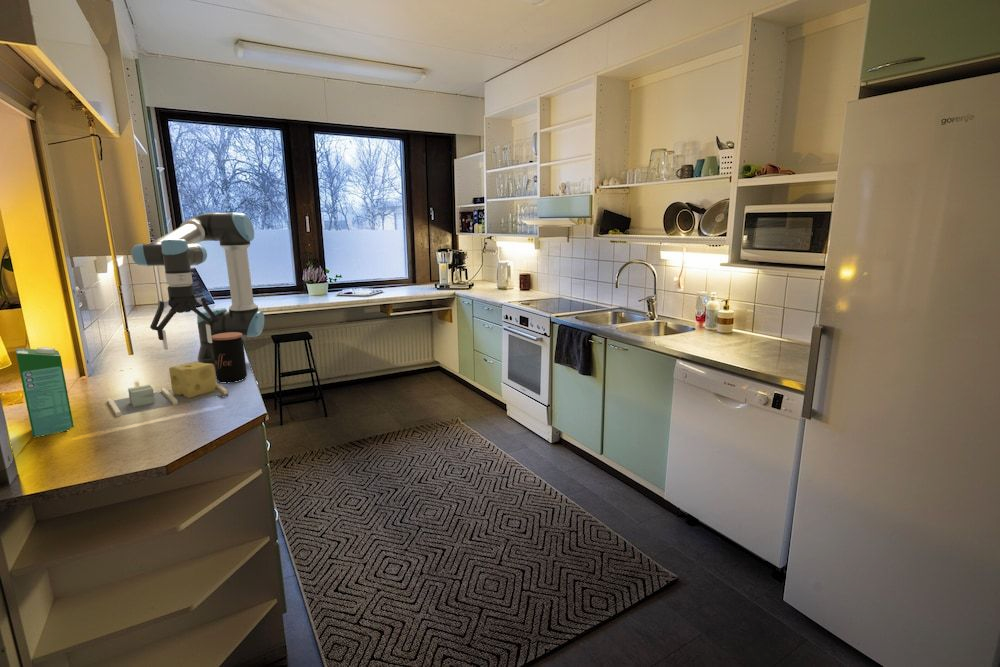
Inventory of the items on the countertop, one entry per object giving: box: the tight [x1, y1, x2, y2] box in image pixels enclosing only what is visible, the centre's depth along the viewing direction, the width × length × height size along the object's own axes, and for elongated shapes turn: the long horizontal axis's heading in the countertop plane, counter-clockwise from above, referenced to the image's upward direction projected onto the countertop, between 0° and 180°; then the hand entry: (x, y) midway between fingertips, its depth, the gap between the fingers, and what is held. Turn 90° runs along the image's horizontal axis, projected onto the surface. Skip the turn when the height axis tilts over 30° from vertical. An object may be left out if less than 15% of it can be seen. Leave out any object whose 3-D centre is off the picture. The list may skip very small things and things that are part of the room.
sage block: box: [127, 384, 155, 407], centre depth 170 cm, size 6×6×5 cm
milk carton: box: [14, 346, 75, 438], centre depth 148 cm, size 9×9×25 cm
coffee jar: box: [211, 332, 248, 384], centre depth 198 cm, size 11×11×18 cm
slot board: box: [106, 381, 229, 417], centre depth 176 cm, size 19×32×2 cm, turn 134°
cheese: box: [169, 361, 217, 398], centre depth 180 cm, size 10×11×10 cm
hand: (188, 345), depth 178 cm, fingers open, 13 cm apart
